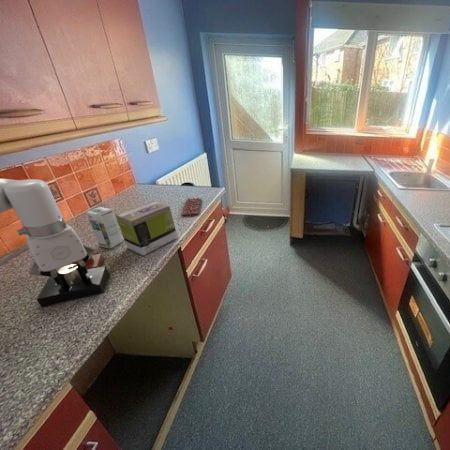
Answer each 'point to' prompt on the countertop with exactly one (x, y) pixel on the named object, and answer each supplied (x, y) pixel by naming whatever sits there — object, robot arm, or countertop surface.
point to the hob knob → (70, 274)
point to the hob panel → (74, 288)
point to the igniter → (92, 261)
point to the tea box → (147, 227)
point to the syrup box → (104, 227)
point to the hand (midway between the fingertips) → (73, 280)
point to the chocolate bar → (192, 207)
